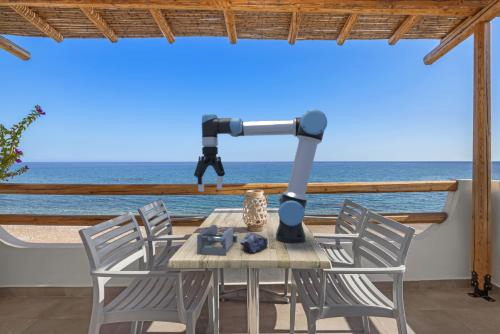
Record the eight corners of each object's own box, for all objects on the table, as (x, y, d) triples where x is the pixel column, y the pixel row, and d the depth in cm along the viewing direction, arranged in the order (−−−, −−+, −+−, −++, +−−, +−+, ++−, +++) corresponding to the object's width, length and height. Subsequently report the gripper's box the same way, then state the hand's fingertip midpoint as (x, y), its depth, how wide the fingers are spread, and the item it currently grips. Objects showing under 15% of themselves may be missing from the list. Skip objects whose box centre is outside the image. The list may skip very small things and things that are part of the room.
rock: (253, 251, 122) (259, 229, 126) (232, 246, 127) (239, 224, 130) (264, 259, 134) (270, 237, 137) (245, 254, 138) (251, 233, 142)
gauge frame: (236, 241, 145) (237, 225, 145) (225, 255, 123) (225, 236, 123) (212, 240, 147) (212, 224, 147) (197, 254, 125) (197, 235, 125)
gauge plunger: (234, 241, 145) (234, 225, 144) (223, 254, 124) (223, 235, 124) (211, 240, 147) (211, 224, 147) (196, 252, 126) (196, 234, 126)
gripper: (219, 147, 154) (220, 188, 154) (185, 145, 133) (186, 192, 133) (231, 147, 150) (232, 188, 150) (198, 144, 129) (198, 192, 129)
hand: (210, 190), depth 142 cm, fingers open, 13 cm apart
